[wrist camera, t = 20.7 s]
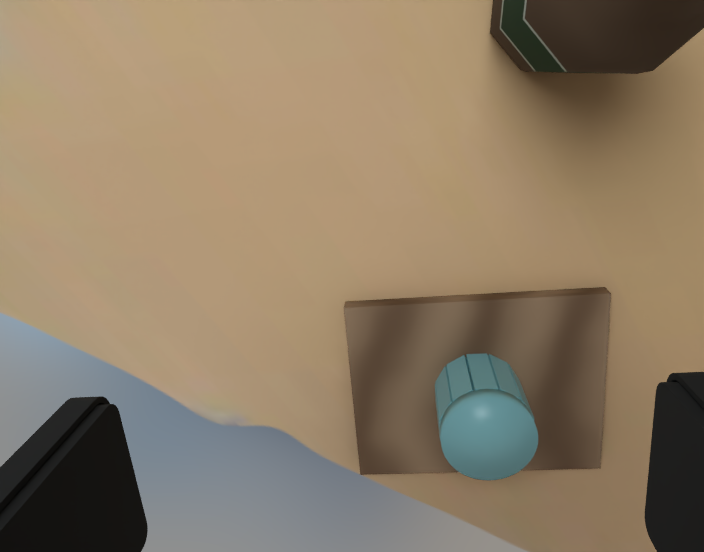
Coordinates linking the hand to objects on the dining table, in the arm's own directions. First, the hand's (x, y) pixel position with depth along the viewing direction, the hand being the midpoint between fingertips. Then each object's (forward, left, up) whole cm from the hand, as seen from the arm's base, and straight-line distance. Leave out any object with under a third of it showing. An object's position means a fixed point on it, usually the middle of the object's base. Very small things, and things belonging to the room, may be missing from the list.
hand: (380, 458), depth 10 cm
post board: (-5, +16, -30) cm, 35 cm away
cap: (-5, +16, -29) cm, 34 cm away
